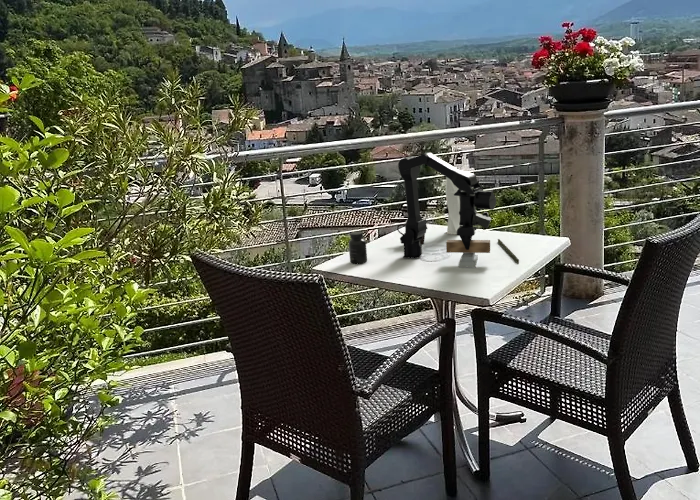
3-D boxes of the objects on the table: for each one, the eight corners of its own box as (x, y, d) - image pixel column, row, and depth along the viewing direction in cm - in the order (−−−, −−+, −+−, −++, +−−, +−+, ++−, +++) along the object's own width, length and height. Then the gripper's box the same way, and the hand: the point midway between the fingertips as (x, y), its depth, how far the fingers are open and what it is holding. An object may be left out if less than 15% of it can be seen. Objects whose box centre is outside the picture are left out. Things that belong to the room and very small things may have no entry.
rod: (519, 264, 253) (519, 259, 252) (516, 264, 253) (516, 259, 252) (499, 243, 283) (499, 238, 282) (497, 243, 283) (497, 238, 282)
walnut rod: (446, 252, 255) (446, 242, 254) (447, 249, 259) (447, 239, 258) (489, 252, 251) (489, 242, 250) (490, 250, 254) (490, 240, 253)
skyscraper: (468, 232, 303) (467, 170, 296) (459, 236, 297) (458, 173, 290) (451, 230, 308) (450, 169, 301) (442, 234, 302) (441, 172, 295)
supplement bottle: (358, 258, 272) (356, 229, 269) (370, 261, 267) (369, 232, 264) (346, 263, 268) (344, 233, 264) (358, 265, 263) (356, 235, 260)
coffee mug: (430, 241, 290) (429, 219, 288) (421, 247, 283) (420, 223, 281) (406, 239, 296) (405, 217, 294) (396, 244, 289) (395, 221, 287)
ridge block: (459, 267, 252) (458, 257, 251) (461, 259, 262) (461, 249, 260) (475, 267, 251) (475, 257, 250) (477, 259, 260) (477, 249, 259)
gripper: (487, 213, 240) (488, 255, 244) (491, 202, 257) (491, 242, 261) (456, 213, 243) (457, 255, 247) (461, 202, 260) (462, 241, 264)
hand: (468, 248), depth 255 cm, fingers closed on walnut rod, 3 cm apart
